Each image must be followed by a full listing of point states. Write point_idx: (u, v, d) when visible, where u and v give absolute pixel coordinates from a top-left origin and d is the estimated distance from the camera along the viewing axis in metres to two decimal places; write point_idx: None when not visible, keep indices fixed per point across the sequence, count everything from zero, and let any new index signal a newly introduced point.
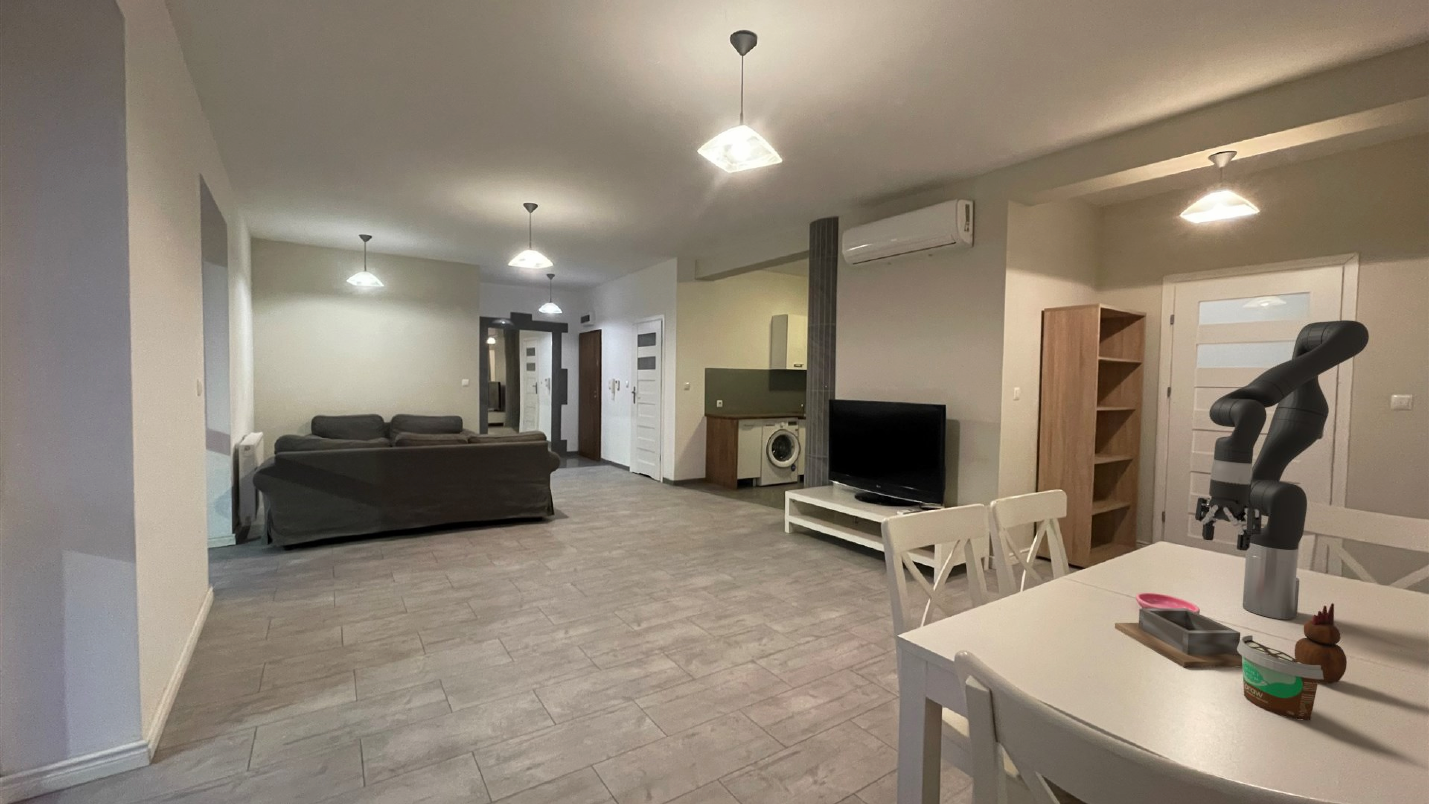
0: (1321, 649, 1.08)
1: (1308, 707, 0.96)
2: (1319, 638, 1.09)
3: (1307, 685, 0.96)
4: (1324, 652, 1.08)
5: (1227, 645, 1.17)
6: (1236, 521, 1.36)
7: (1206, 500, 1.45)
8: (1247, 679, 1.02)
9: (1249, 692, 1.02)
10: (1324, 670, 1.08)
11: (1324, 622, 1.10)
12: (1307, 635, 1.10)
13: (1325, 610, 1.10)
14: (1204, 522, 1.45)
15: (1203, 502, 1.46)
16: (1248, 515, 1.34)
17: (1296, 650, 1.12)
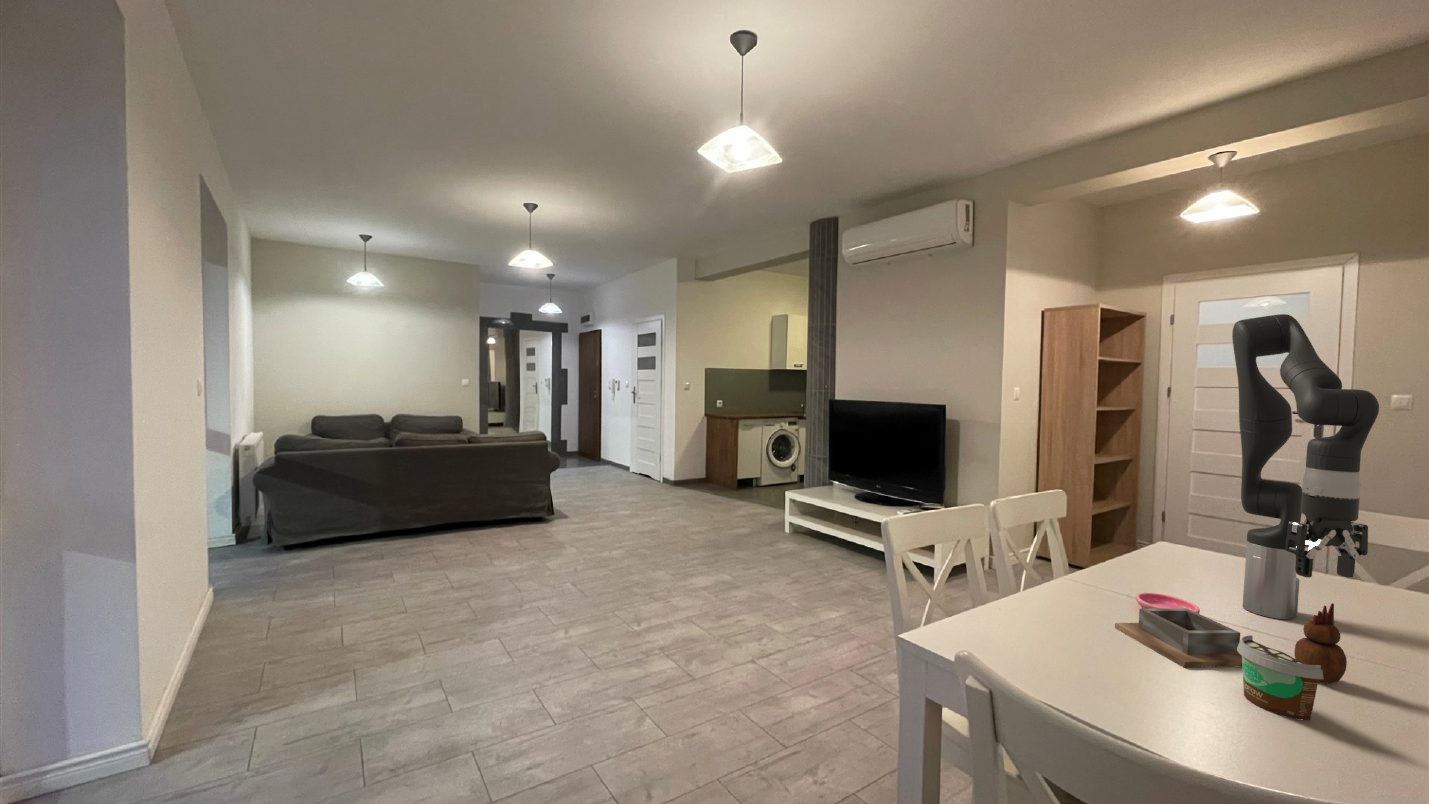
0: (1321, 649, 1.08)
1: (1308, 707, 0.96)
2: (1319, 638, 1.09)
3: (1307, 685, 0.96)
4: (1324, 652, 1.08)
5: (1227, 645, 1.17)
6: None
7: None
8: (1247, 679, 1.02)
9: (1249, 692, 1.02)
10: (1324, 670, 1.08)
11: (1324, 622, 1.10)
12: (1307, 635, 1.10)
13: (1325, 610, 1.10)
14: (1311, 555, 1.08)
15: None
16: (1363, 533, 1.09)
17: (1296, 650, 1.12)
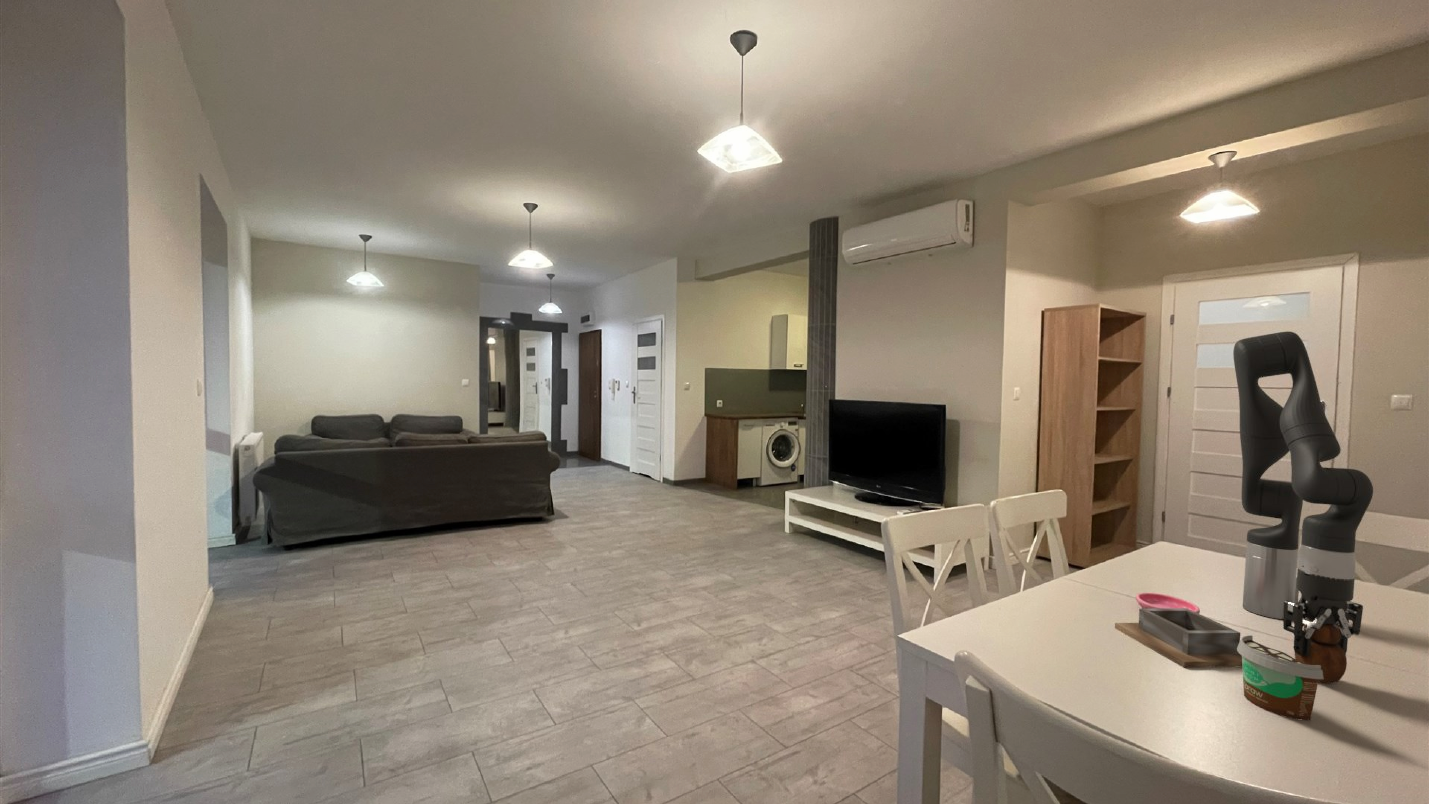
0: (1321, 649, 1.08)
1: (1308, 707, 0.96)
2: (1319, 638, 1.09)
3: (1307, 685, 0.96)
4: (1324, 652, 1.08)
5: (1227, 645, 1.17)
6: None
7: None
8: (1247, 679, 1.02)
9: (1249, 692, 1.02)
10: (1324, 670, 1.08)
11: None
12: None
13: None
14: (1309, 635, 1.09)
15: None
16: (1358, 612, 1.09)
17: None
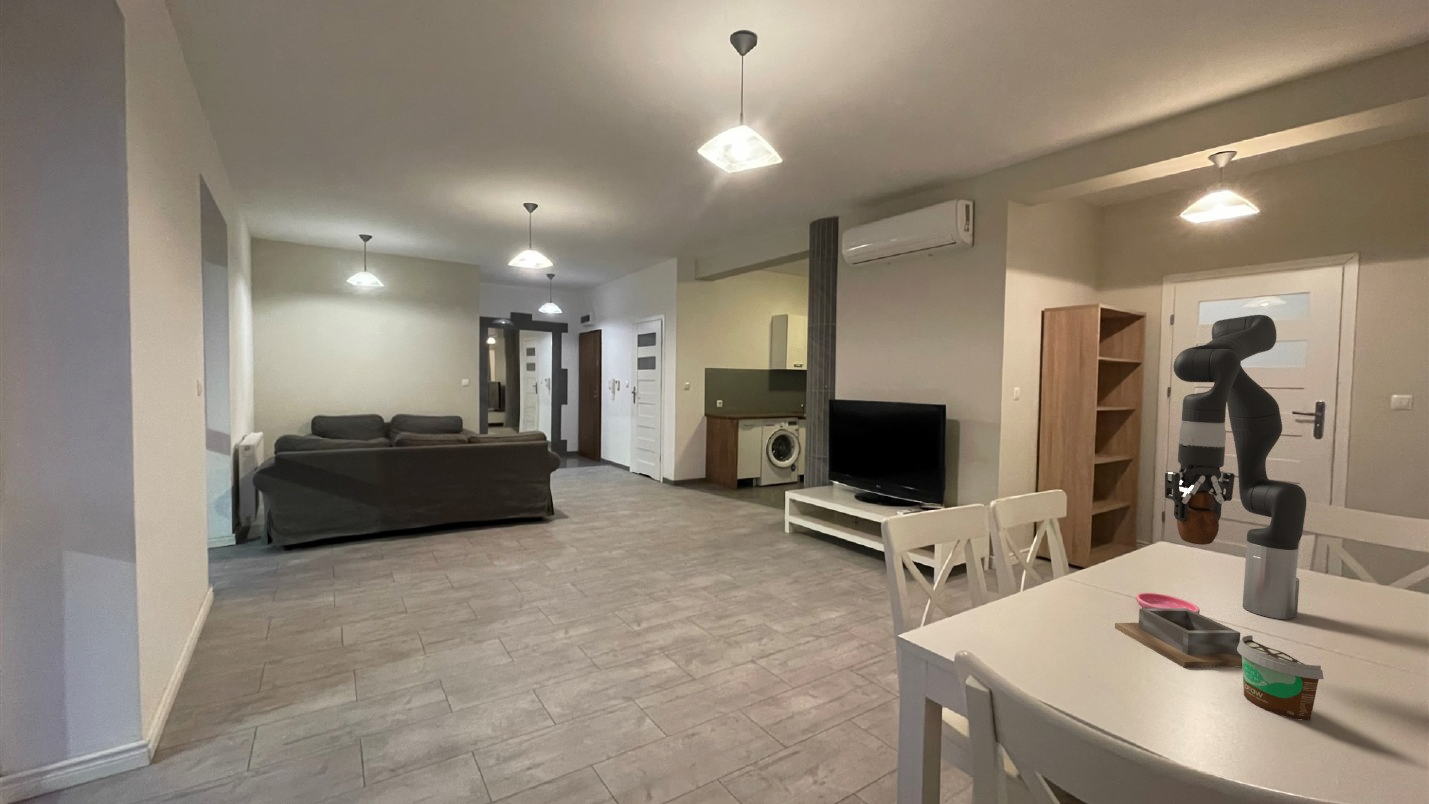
0: (1197, 513, 1.20)
1: (1308, 707, 0.96)
2: (1195, 503, 1.20)
3: (1307, 685, 0.96)
4: (1199, 515, 1.20)
5: (1227, 645, 1.17)
6: None
7: None
8: (1247, 679, 1.02)
9: (1249, 692, 1.02)
10: (1199, 532, 1.20)
11: None
12: (1186, 503, 1.22)
13: None
14: (1186, 500, 1.20)
15: None
16: (1230, 480, 1.21)
17: None
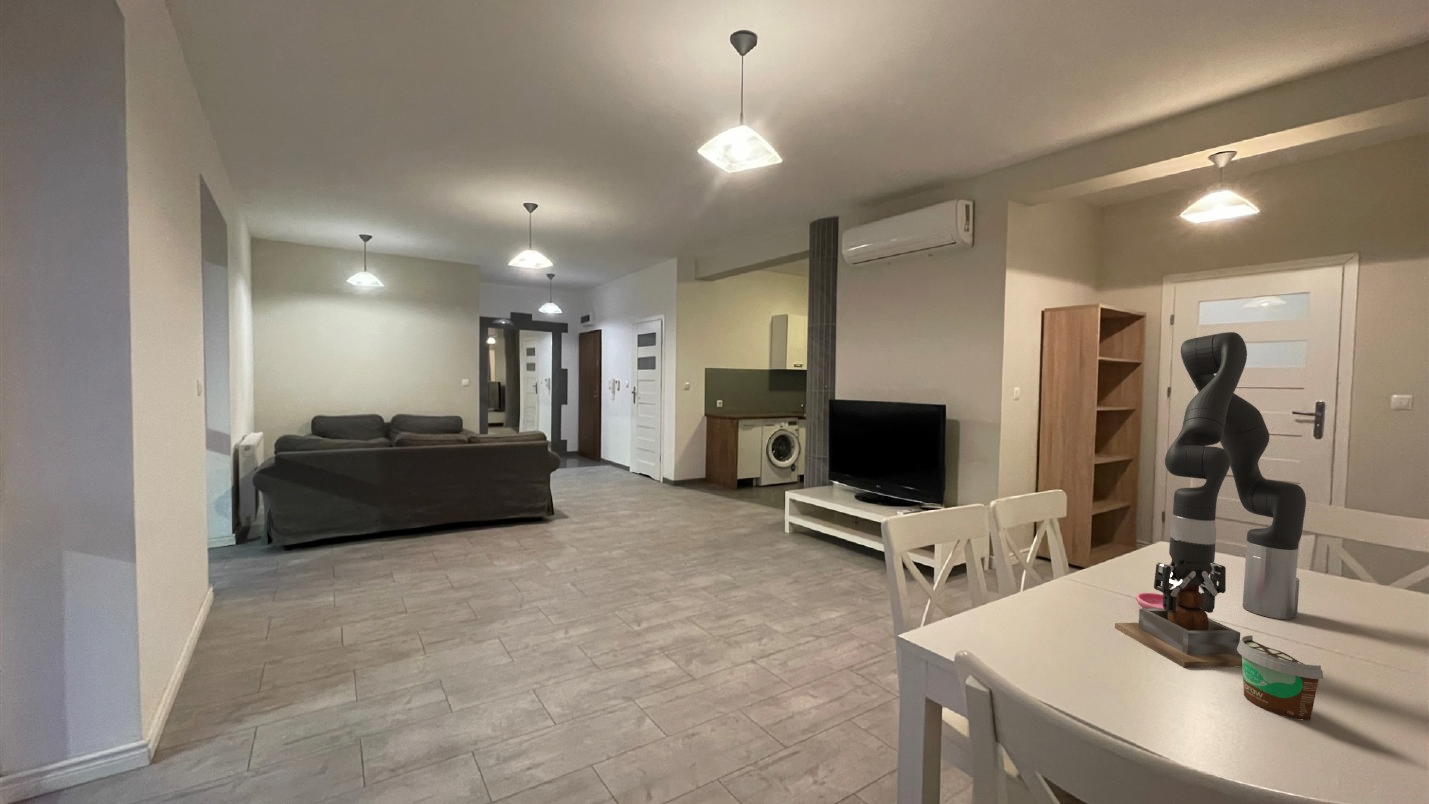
0: (1187, 613, 1.21)
1: (1308, 707, 0.96)
2: (1185, 603, 1.22)
3: (1307, 684, 0.96)
4: (1189, 615, 1.21)
5: (1227, 645, 1.17)
6: None
7: None
8: (1247, 679, 1.02)
9: (1249, 692, 1.02)
10: None
11: (1190, 589, 1.22)
12: (1176, 601, 1.23)
13: None
14: (1175, 593, 1.21)
15: None
16: (1221, 573, 1.22)
17: (1168, 615, 1.25)
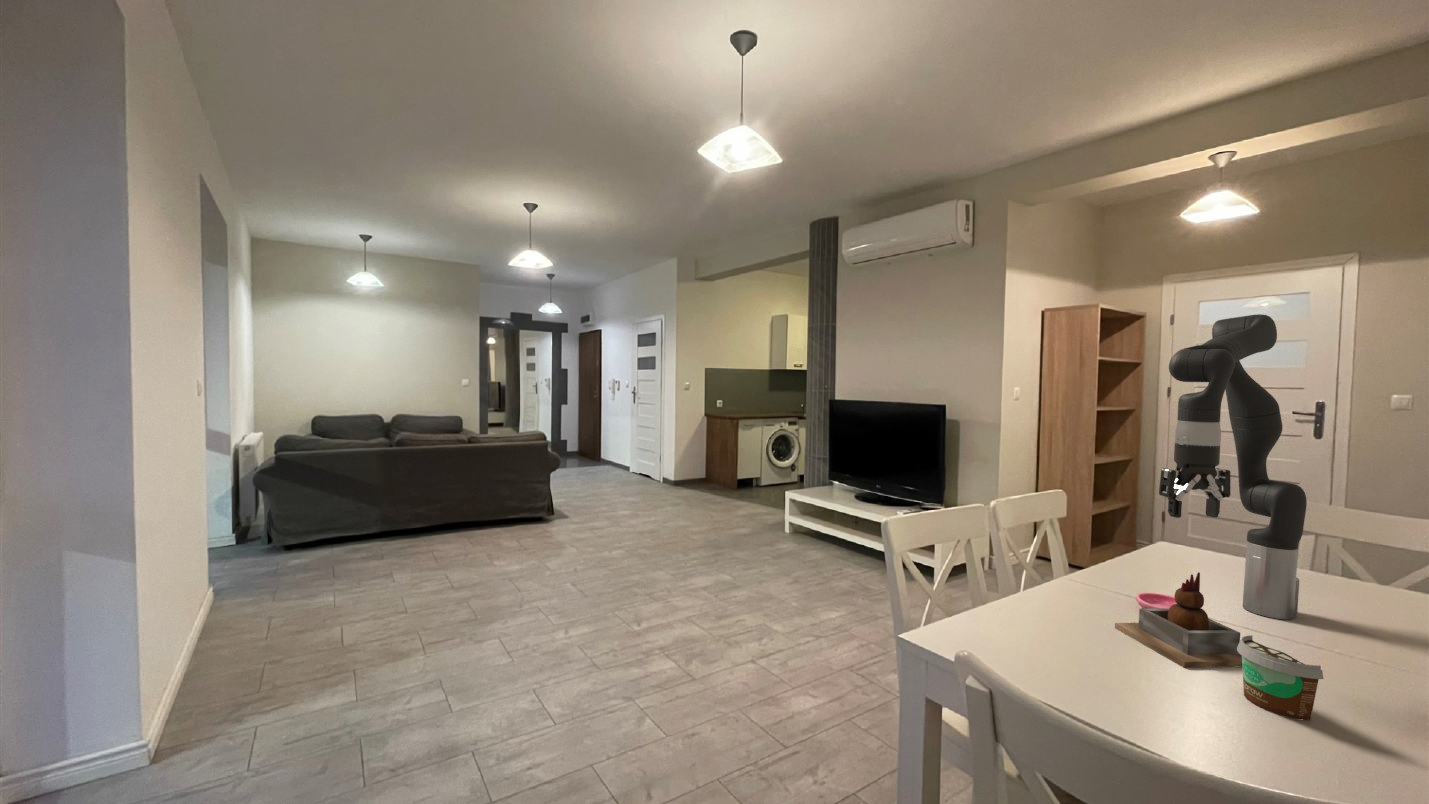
0: (1187, 613, 1.21)
1: (1308, 707, 0.96)
2: (1186, 603, 1.22)
3: (1307, 684, 0.96)
4: (1189, 615, 1.21)
5: (1227, 645, 1.17)
6: None
7: None
8: (1247, 679, 1.02)
9: (1249, 692, 1.02)
10: None
11: (1191, 589, 1.23)
12: (1177, 601, 1.23)
13: (1192, 578, 1.23)
14: (1180, 498, 1.21)
15: None
16: (1226, 477, 1.22)
17: (1168, 615, 1.25)
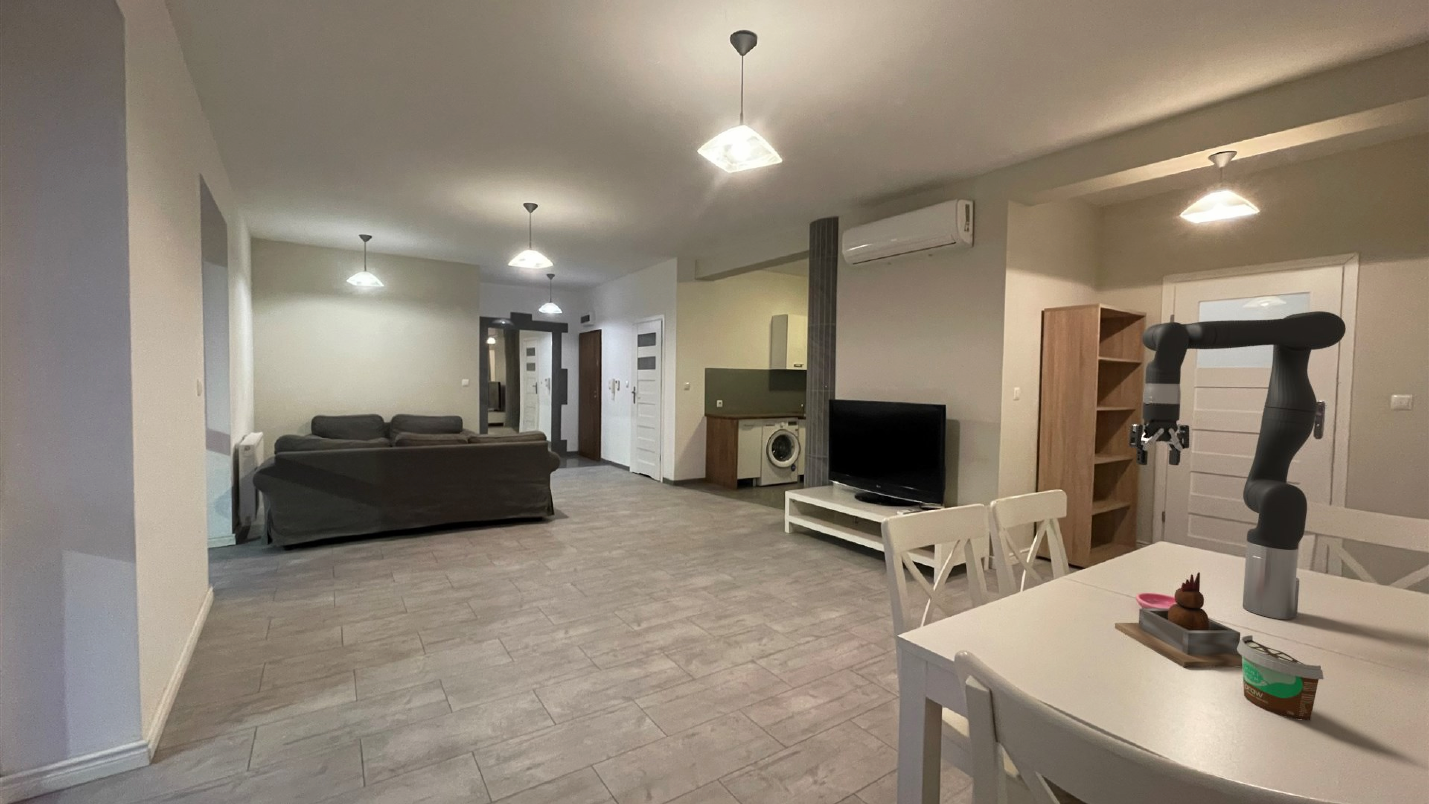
0: (1187, 613, 1.21)
1: (1308, 707, 0.96)
2: (1186, 603, 1.22)
3: (1307, 685, 0.96)
4: (1189, 615, 1.21)
5: (1227, 645, 1.17)
6: None
7: None
8: (1247, 679, 1.02)
9: (1249, 692, 1.02)
10: None
11: (1191, 589, 1.23)
12: (1177, 601, 1.23)
13: (1192, 578, 1.23)
14: (1146, 448, 1.44)
15: None
16: (1186, 431, 1.45)
17: (1168, 615, 1.25)
